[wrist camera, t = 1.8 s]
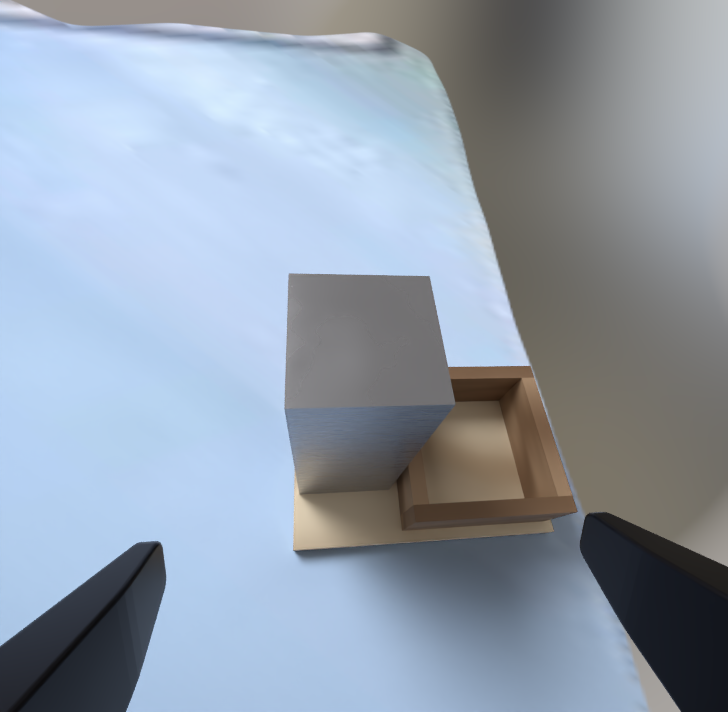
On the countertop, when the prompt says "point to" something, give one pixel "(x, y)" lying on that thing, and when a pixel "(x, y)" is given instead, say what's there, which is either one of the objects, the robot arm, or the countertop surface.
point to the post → (362, 378)
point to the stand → (457, 475)
